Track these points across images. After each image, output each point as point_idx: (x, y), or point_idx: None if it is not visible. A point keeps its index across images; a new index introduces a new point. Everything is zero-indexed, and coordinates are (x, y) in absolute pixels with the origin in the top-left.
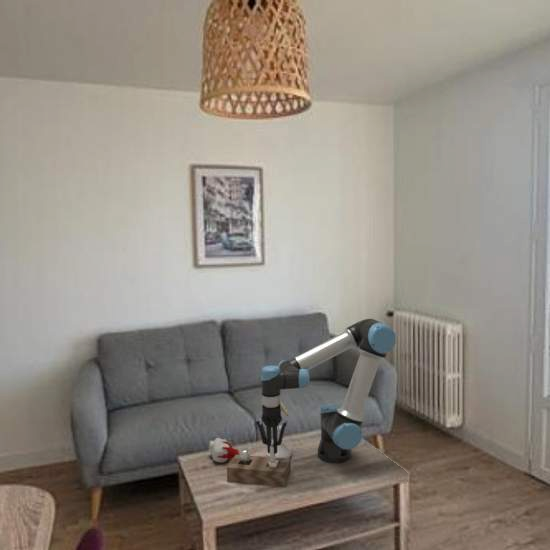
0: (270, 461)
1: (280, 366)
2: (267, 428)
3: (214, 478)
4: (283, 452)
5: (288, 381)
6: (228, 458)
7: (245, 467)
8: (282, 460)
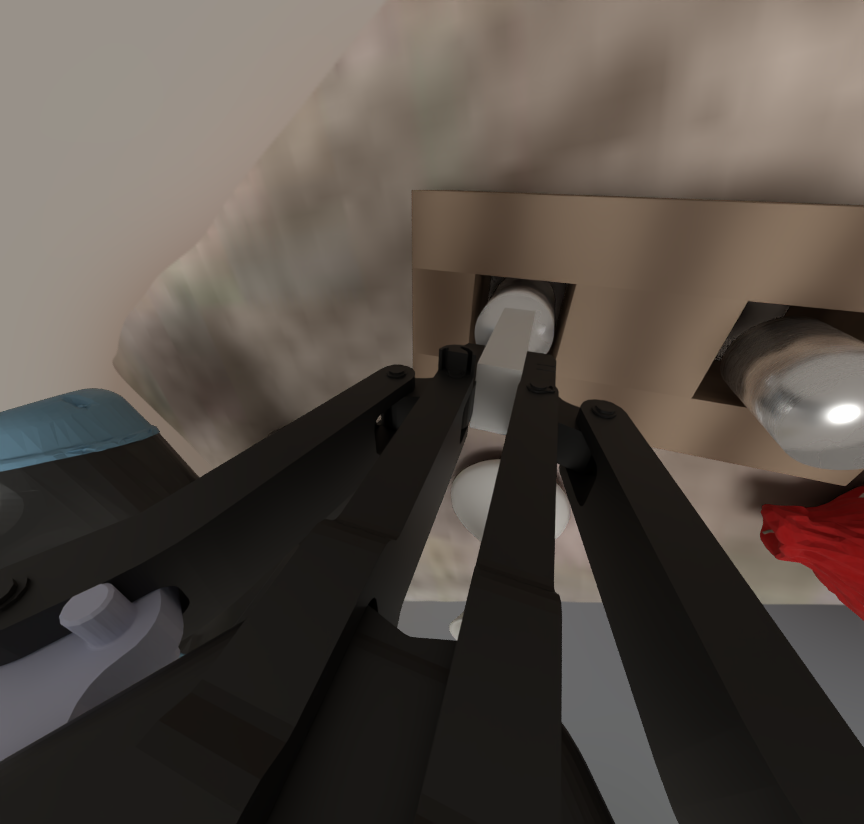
0: (533, 311)
1: None
2: (524, 624)
3: None
4: (479, 492)
5: None
6: (856, 498)
7: (811, 244)
8: None
